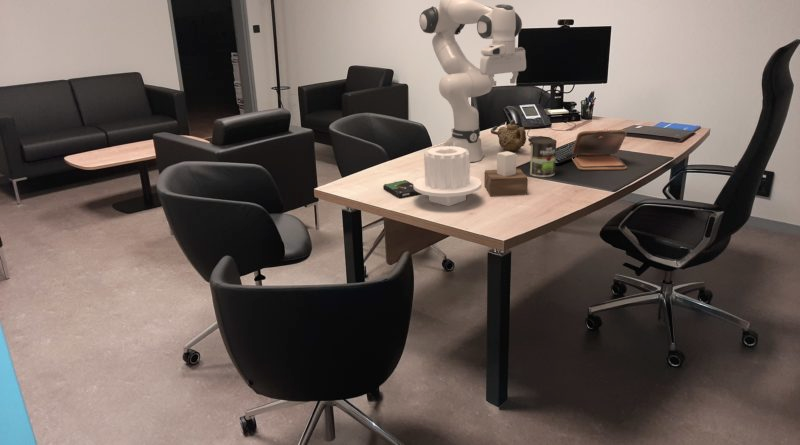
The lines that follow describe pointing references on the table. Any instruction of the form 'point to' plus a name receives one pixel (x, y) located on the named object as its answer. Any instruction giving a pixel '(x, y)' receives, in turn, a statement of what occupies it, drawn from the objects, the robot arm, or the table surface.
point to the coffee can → (543, 157)
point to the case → (599, 150)
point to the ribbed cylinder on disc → (447, 176)
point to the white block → (506, 163)
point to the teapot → (511, 137)
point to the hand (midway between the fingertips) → (503, 84)
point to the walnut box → (505, 183)
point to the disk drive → (401, 189)
